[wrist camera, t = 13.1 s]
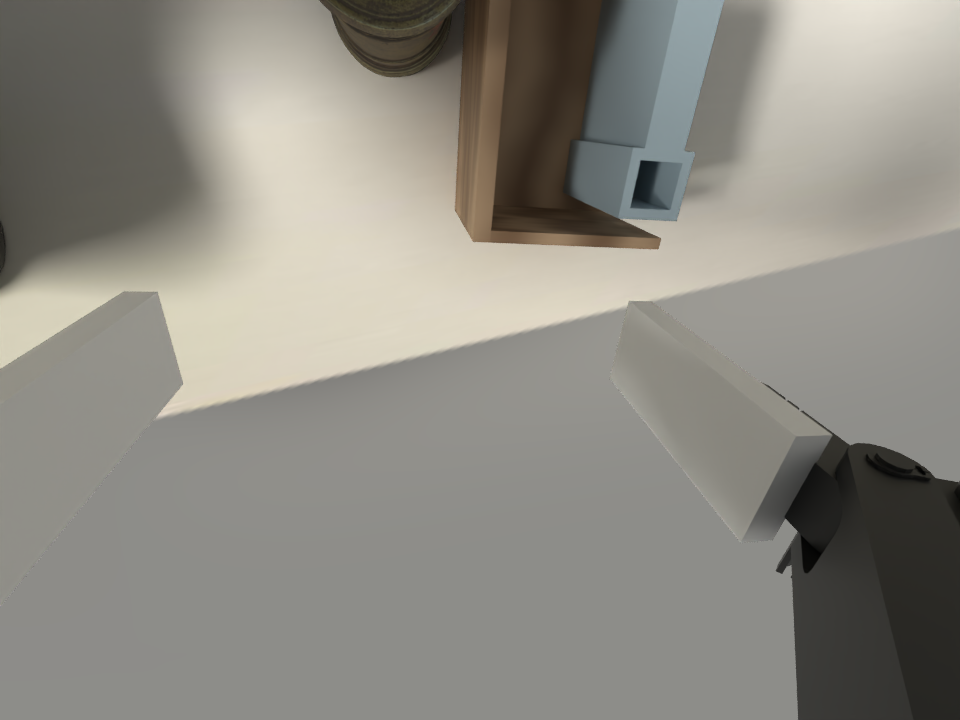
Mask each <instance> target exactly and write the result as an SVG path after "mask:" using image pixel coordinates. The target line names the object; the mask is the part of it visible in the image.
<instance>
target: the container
mask: <svg viewBox="0 0 960 720" xmlns="http://www.w3.org/2000/svg"><path fill="white" fill-rule="evenodd" d="M319 1H320V2H321V3H322V4H323V5H324V6H325V7H326V8H327V9H329V10H330V11H331V14H332V17H333V20H334V23H335V26H336V29H337V31H338V33H339V35H340V37H341V39H342V41H343V43H344V44H345V46H346V47H347V49H348V50H349V52H350V53H351V54H352V55H353V56H354V57H355V59H356V60H357V61H358V62H359V63H361V64H362V65H363V66H364V67H366V68H367V69H369V70H370V71H372V72H374V73H376V74H379V75H382V76H386V77H402V76H408V75H411V74H414V73H416V72H418V71H420V70H421V69H423V68H424V67H426V66H427V65H428V64H429V63H430V62H431V61H432V60H433V59H434V58H435V57H436V55H437V54H438V53H439V51H440V50H441V48H442V46H443V44H444V42H445V40H446V37H447V34H448V31H449V27H450V22H451V15H452V11H453V10H454V9H455V8H456V7H457V5H458V4H459V3H460V1H461V0H319Z"/></svg>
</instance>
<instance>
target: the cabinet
mask: <svg viewBox="0 0 960 720" xmlns="http://www.w3.org/2000/svg"><path fill="white" fill-rule="evenodd" d="M601 3H602V0H465V15H464V36H463V56H462V77H461V97H460V117H459V138H458V158H457V179H456V199H455V211H456V213H457V214H458V216H459V218H460V220H461V221H462V223H463V225H464V227H465V228H466V230H467V232H468V234H469V235H470V237H471V239H472V241H473V242H492V243H517V244H541V245H565V246H589V247H613V248H637V249H659V245H660V241H661V238H659V237H657V236H655V235H652V234H650V233H648V232H646V231H644V230H642V229H640V228H638V227H635V226H633V225H631V224H629V223H627V222H625V221H623V220H620V219H618V218H616V217H614V216H612V215H610V214H608V213H605V212H603V211H601V210H599V209H597V208H595V207H593V206H591V205H589V204H586V203H584V202H582V201H580V200H578V199H576V198H574V197H571V196H569V195H567V194H565V193H563V188H564V182H565V175H566V169H567V162H568V155H569V149H570V142H571V139H573V140H580V134H581V128H582V122H583V116H584V109H585V103H586V97H587V91H588V84H589V78H590V72H591V66H592V59H593V53H594V47H595V41H596V35H597V28H598V22H599V16H600V10H601Z"/></svg>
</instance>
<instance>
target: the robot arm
mask: <svg viewBox="0 0 960 720" xmlns="http://www.w3.org/2000/svg"><path fill="white" fill-rule="evenodd" d="M4 257H5V243H4V237H3V232H2V229H1V225H0V272H1V269H2V266H3V263H4ZM610 379H611V381H612V382H613V383H614V384H615V386H616V387H617V388H618V389H619V391H620V392H621V393H622V394H623V396H624V397H625V398H626V399H627V401H628V402H629V403H630V405H631V406H632V407H633V408H634V410H635V411H636V412H637V413H638V415H639V416H640V417H641V418H642V420H643V421H644V422H645V423H646V425H647V426H648V427H649V428H650V430H651V431H652V432H653V433H654V435H655V436H656V437H657V438H658V440H659V441H660V442H661V444H662V445H663V446H664V447H665V448H666V450H667V451H668V452H669V453H670V455H671V456H672V457H673V459H674V460H675V461H676V462H677V464H678V465H679V466H680V467H681V469H682V470H683V471H684V472H685V474H686V475H687V476H688V477H689V479H690V480H691V481H692V482H693V484H694V485H695V486H696V487H697V489H698V490H699V491H700V493H701V494H702V495H703V496H704V498H705V499H706V500H707V501H708V502H709V504H710V505H711V506H712V508H713V509H714V510H715V511H716V513H717V514H718V515H719V516H720V518H721V519H722V520H723V521H724V523H725V524H726V525H727V526H728V528H729V529H730V530H731V531H732V533H733V534H734V535H735V536H736V538H737V539H738V540H739V541H740V543H745V542H756V541H768V540H773V539H774V537H775V535H776V534H777V532H778V530H779V528H780V527H781V525H782V523H783V521H784V520H785V518H786V519H787V520H788V521H789V523H790V524H791V525H792V526H793V527H794V528H795V529H796V530H797V531H798V532H797V534H796V535H795V537H794V539H793V541H792V542H791V544H790V546H789V547H788V549H787V550H786V552H785V554H784V555H783V557H782V559H781V561H780V562H779V564H778V566H777V569H776V571H777V572H779V573H781V574H782V573H783V571H784V570H785V568H786V566H790V565H792V576H791V578H792V585H793V609H794V631H795V653H796V654H795V655H796V678H797V700H798V720H960V481H959V482H954V481H948V480H942V479H937V478H935V477H934V476H933V475H932V474H931V472H930V471H928V470H927V469H926V468H925V467H923V466H921V465H920V464H919V463H917V462H915V461H914V460H912V459H910V458H908V457H906V456H904V455H902V454H900V453H898V452H895V451H893V450H890V449H887V448H885V447H881V446H877V445H872V444H865V443H856V444H853V445H851V446H850V445H849V444H847V443H846V442H845V441H843V440H842V439H841V438H839V437H838V436H836V435H835V434H834V433H832V432H831V431H830V430H828V429H827V428H825V427H824V426H823V425H821V424H820V423H819V422H817V421H816V420H814V419H813V418H812V417H811V416H809V415H808V414H806V413H805V412H804V411H799V408H798V407H797V406H795V405H794V404H793V403H791V402H790V401H786V400H785V397H783V396H782V395H781V394H779V393H778V392H776V391H775V390H774V389H772V388H771V387H770V386H768V385H766V384H764V383H762V382H760V381H759V380H757V379H756V378H755V377H753V376H752V375H750V374H749V373H748V372H746V371H745V370H744V369H742V368H741V367H740V366H738V365H737V364H736V363H734V362H733V361H731V360H730V359H729V358H727V357H726V356H725V355H723V354H722V353H721V352H719V351H718V350H717V349H715V348H714V347H712V346H711V345H710V344H709V343H707V342H706V341H704V340H703V339H702V338H700V337H699V336H698V335H696V334H695V333H694V332H692V331H691V330H690V329H688V328H687V327H685V326H684V325H683V324H681V323H680V322H679V321H677V320H676V319H674V318H673V317H672V316H671V315H669V314H668V313H666V312H665V311H664V310H662V309H661V308H660V307H658V306H657V305H655V304H654V303H653V302H647V301H629V303H628V306H627V310H626V314H625V319H624V322H623V327H622V330H621V334H620V338H619V343H618V346H617V350H616V355H615V358H614V362H613V366H612V370H611V374H610ZM182 385H183V381H182V377H181V374H180V370H179V367H178V363H177V360H176V356H175V353H174V349H173V345H172V342H171V338H170V335H169V331H168V328H167V324H166V320H165V317H164V313H163V310H162V306H161V303H160V299H159V296H158V292H122V293H121V294H119V295H118V296H116V297H114V298H113V299H111V300H110V301H108V302H106V303H105V304H103V305H102V306H100V307H99V308H97V309H95V310H94V311H92V312H91V313H89V314H87V315H86V316H84V317H83V318H81V319H79V320H78V321H76V322H75V323H73V324H71V325H70V326H68V327H67V328H65V329H63V330H62V331H60V332H59V333H57V334H55V335H54V336H52V337H51V338H49V339H48V340H46V341H44V342H43V343H41V344H40V345H38V346H36V347H35V348H33V349H32V350H30V351H28V352H27V353H25V354H24V355H22V356H20V357H19V358H17V359H16V360H14V361H12V362H11V363H9V364H8V365H6V366H4V367H3V368H1V369H0V607H1V606H2V604H3V603H4V602H5V601H6V599H7V598H8V597H9V596H10V594H11V593H12V592H13V591H14V590H15V589H16V587H17V586H18V585H19V584H20V582H21V581H22V580H23V579H24V578H25V576H26V575H27V574H28V573H29V571H30V570H31V569H32V568H33V567H34V565H35V564H36V563H37V562H38V561H39V559H40V558H41V557H42V556H43V554H44V553H45V552H46V551H47V550H48V548H49V547H50V546H51V545H52V543H53V542H54V541H55V540H56V539H57V537H58V536H59V535H60V534H61V532H62V531H63V530H64V529H65V528H66V526H67V525H68V524H69V523H70V521H71V520H72V519H73V518H74V517H75V515H76V514H77V513H78V511H79V510H80V509H81V508H82V507H83V506H84V504H85V503H86V502H87V501H88V500H89V498H90V497H91V496H92V495H93V493H94V492H95V491H96V490H97V488H98V487H99V486H100V485H101V484H102V482H103V481H104V480H105V479H106V478H107V476H108V475H109V474H110V473H111V471H112V470H113V469H114V468H115V466H116V465H117V464H118V463H119V462H120V460H121V459H122V458H123V457H124V456H125V454H126V453H127V452H128V451H129V449H130V448H131V447H132V446H133V445H134V443H135V442H136V441H137V440H138V438H139V437H140V436H141V435H142V433H143V432H144V431H145V430H146V429H147V428H148V426H149V425H150V424H151V423H152V421H153V420H154V419H155V418H156V417H157V415H158V414H159V413H160V412H161V410H162V409H163V408H164V407H165V406H166V404H167V403H168V402H169V401H170V399H171V398H172V397H173V396H174V395H175V393H176V392H177V391H178V390H179V388H180V387H181V386H182Z"/></svg>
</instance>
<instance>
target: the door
mask: <svg viewBox="0 0 960 720" xmlns="http://www.w3.org/2000/svg"><path fill="white" fill-rule="evenodd" d="M723 3H724V0H602V3H601V10H600V16H599V22H598V28H597V35H596V41H595V47H594V53H593V59H592V66H591V72H590V78H589V84H588V91H587V97H586V103H585V109H584V116H583V122H582V128H581V134H580V140H573V139H571V142H570V149H569V155H568V162H567V169H566V175H565V182H564V188H563V193H565V194H567V195H569V196H571V197H574V198H576V199H578V200H580V201H582V202H584V203H586V204H589V205H591V206H593V207H595V208H597V209H599V210H601V211H604V212H606V213H608V214H610V215H612V216H614V217H616V218H621V219H642V220H663V221H677V217H678V214H679V210H680V206H681V203H682V199H683V196H684V192H685V188H686V185H687V181H688V177H689V174H690V170H691V166H692V163H693V159H694V155H695V152H689V151H685V147H686V143H687V139H688V136H689V132H690V128H691V124H692V120H693V117H694V113H695V109H696V105H697V101H698V98H699V94H700V90H701V86H702V83H703V79H704V75H705V71H706V67H707V64H708V60H709V56H710V52H711V48H712V45H713V41H714V37H715V33H716V29H717V26H718V22H719V18H720V14H721V10H722V7H723Z"/></svg>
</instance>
